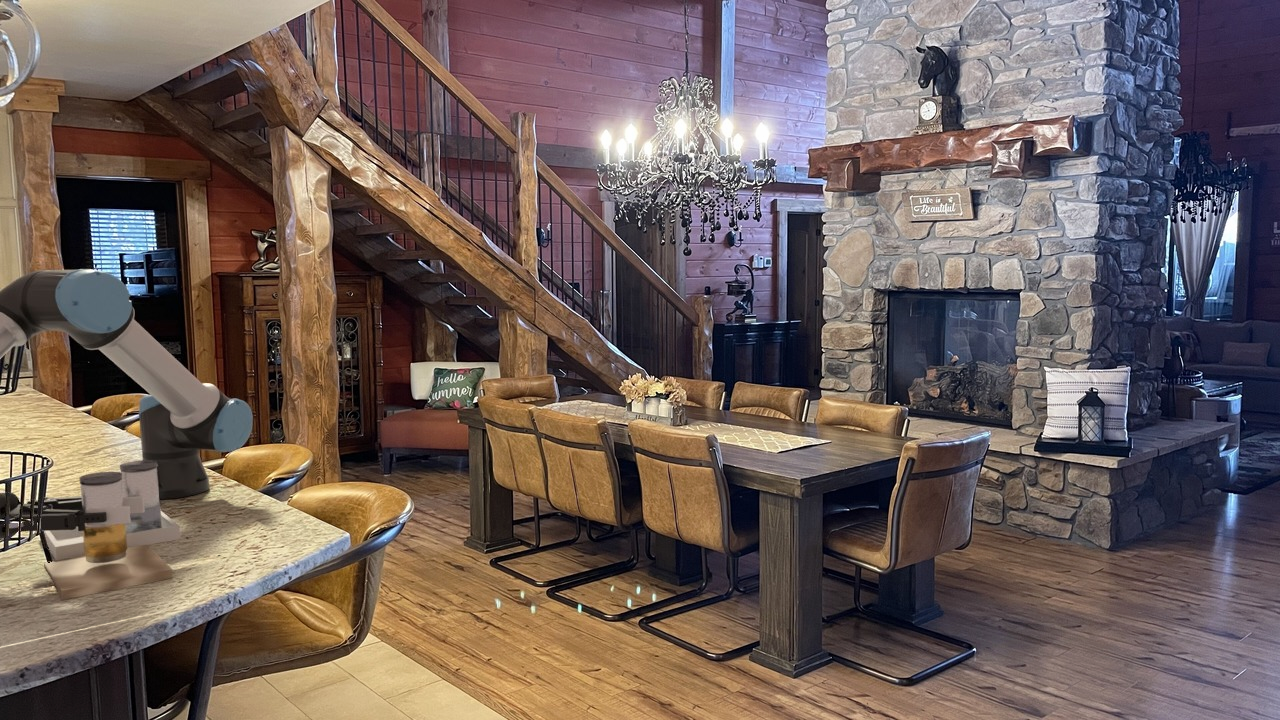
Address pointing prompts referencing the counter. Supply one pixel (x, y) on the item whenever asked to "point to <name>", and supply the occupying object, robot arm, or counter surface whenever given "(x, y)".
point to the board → (107, 573)
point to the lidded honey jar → (108, 538)
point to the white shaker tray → (72, 541)
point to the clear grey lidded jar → (142, 494)
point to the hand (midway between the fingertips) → (136, 509)
